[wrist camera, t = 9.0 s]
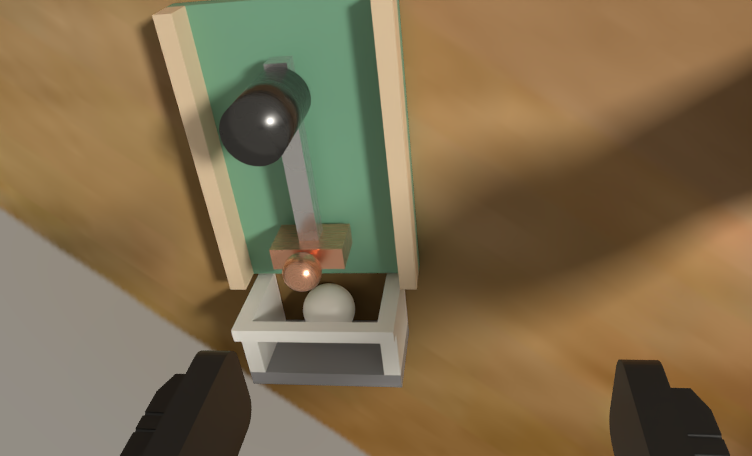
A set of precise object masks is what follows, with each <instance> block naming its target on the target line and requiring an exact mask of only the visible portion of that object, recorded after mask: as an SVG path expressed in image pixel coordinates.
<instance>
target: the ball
mask: <svg viewBox="0 0 752 456" xmlns="http://www.w3.org/2000/svg"><path fill="white" fill-rule="evenodd" d="M303 314H304V318H305V321H306V322H352V321H353V318H354V315H355V303H354V300H353V298H352V296H351V294H350V293H349V292H348V291H347V290H346V289H345V288H344V287H342V286H340V285H337V284H333V283H326V284H321V285H319V286H317V287H315V288H314V289H312V290H311V291H310V292H309V294H308V295H307V297H306V299H305V301H304V305H303Z"/></svg>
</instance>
